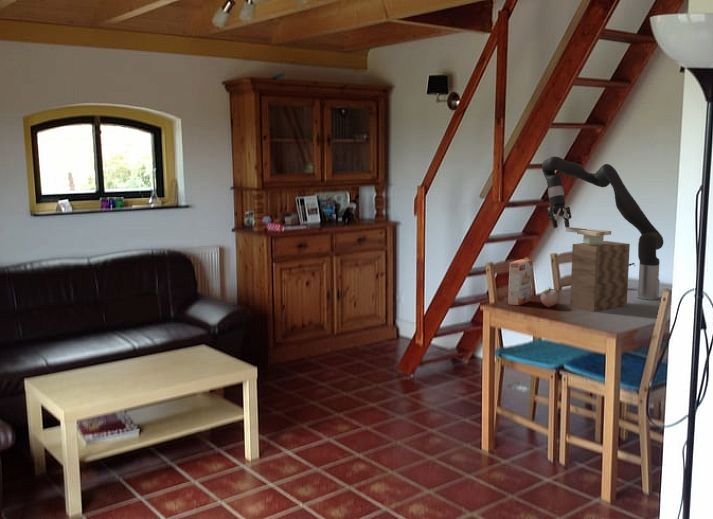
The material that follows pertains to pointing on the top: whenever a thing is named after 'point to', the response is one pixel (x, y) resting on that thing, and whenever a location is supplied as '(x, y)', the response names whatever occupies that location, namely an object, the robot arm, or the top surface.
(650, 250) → the robot arm
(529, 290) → the cracker box
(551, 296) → the decorative fruit
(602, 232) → the lid
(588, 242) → the pale grey block
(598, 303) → the stand
